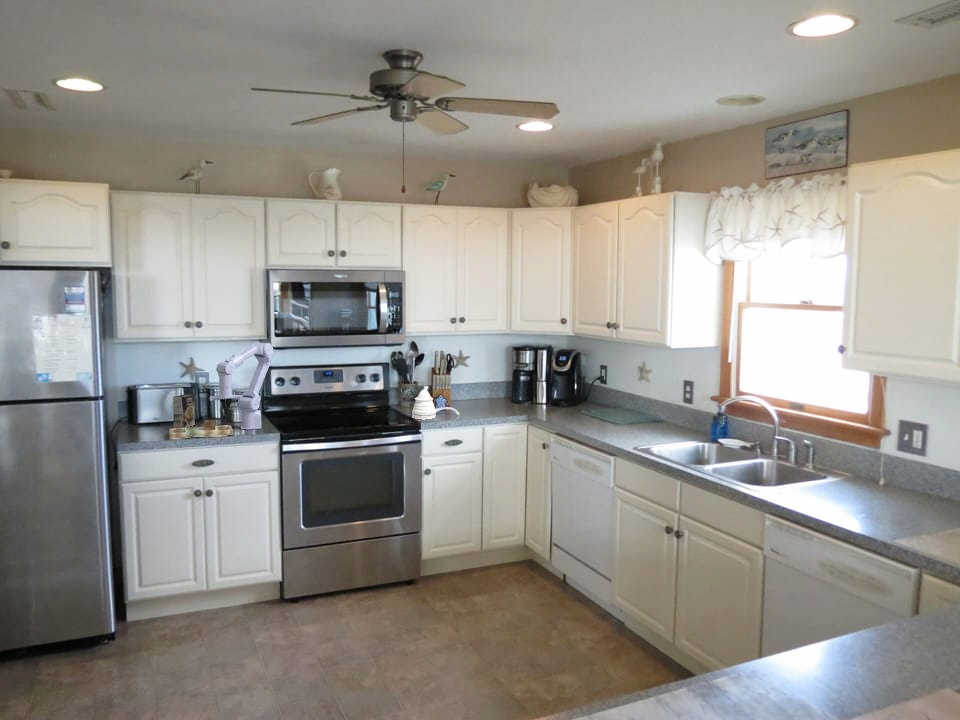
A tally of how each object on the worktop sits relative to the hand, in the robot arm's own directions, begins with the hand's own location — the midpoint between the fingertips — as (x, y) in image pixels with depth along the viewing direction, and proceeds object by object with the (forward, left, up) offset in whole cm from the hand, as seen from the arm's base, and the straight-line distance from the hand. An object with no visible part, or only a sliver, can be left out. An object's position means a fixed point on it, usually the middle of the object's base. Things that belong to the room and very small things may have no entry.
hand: (226, 414), depth 357 cm
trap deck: (+11, 0, -9) cm, 15 cm away
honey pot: (-103, -4, -10) cm, 103 cm away
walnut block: (+7, 0, -7) cm, 10 cm away
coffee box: (+18, -21, -9) cm, 30 cm away
